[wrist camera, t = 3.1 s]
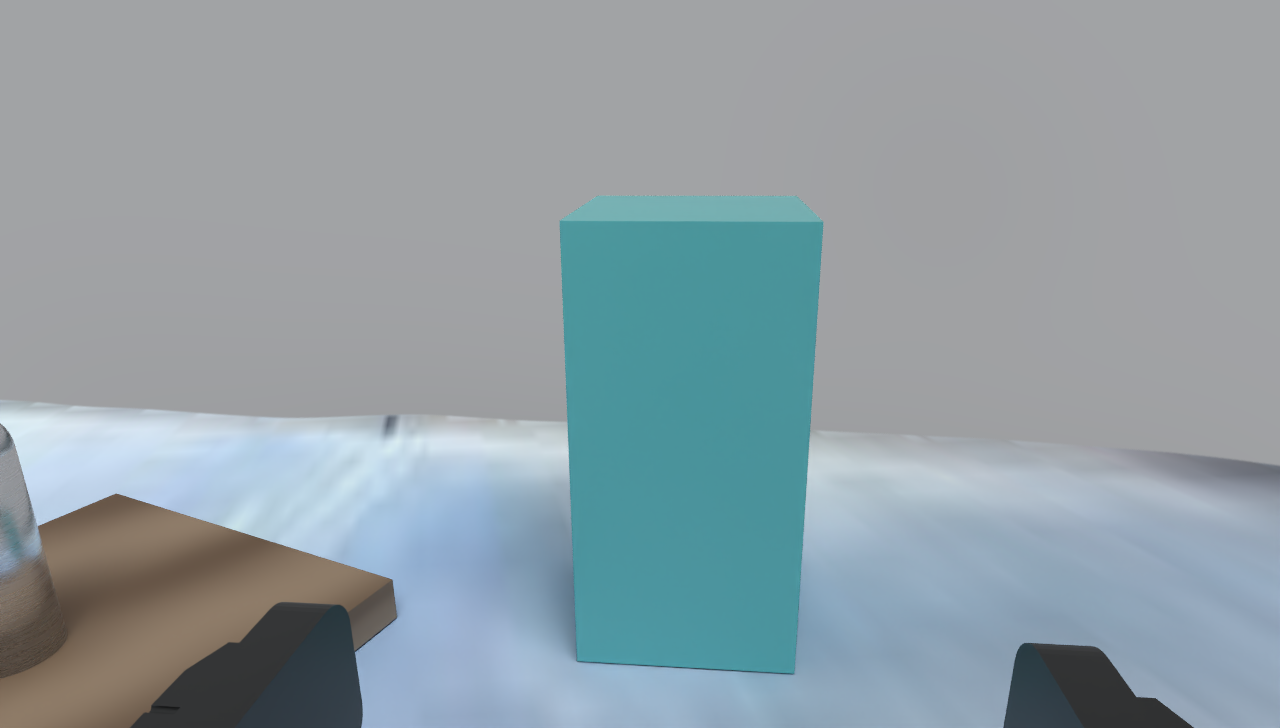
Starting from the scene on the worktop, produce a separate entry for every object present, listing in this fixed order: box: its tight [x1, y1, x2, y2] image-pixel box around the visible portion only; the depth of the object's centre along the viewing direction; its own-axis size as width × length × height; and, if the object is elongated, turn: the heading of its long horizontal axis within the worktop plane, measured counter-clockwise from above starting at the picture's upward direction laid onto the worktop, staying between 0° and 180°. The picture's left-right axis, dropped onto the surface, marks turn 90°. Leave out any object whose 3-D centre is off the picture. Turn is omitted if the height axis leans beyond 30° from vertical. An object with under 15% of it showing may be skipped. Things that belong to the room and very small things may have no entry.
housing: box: [560, 196, 823, 674], centre depth 20 cm, size 5×5×11 cm
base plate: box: [0, 494, 397, 728], centre depth 18 cm, size 12×12×1 cm
